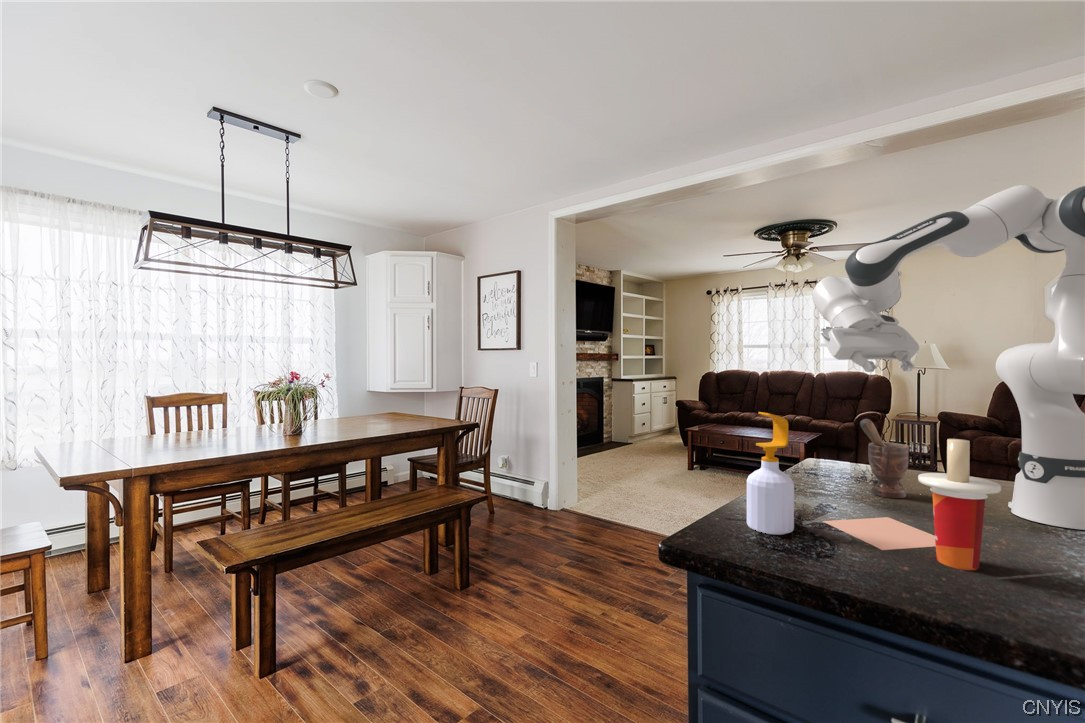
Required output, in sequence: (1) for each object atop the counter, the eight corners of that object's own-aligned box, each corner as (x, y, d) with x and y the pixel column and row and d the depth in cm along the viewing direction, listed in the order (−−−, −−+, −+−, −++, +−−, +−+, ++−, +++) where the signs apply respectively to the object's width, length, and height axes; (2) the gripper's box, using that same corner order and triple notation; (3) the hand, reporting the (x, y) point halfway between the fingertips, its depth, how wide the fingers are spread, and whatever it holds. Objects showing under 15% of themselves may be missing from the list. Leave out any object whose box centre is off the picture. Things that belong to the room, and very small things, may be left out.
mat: (887, 518, 110) (887, 517, 110) (957, 546, 94) (957, 544, 94) (822, 522, 108) (822, 521, 108) (882, 552, 92) (882, 549, 92)
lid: (953, 475, 92) (954, 434, 92) (1019, 492, 81) (1020, 445, 81) (902, 478, 90) (902, 436, 90) (962, 495, 79) (963, 447, 79)
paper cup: (958, 555, 90) (959, 479, 90) (999, 574, 82) (1000, 490, 82) (917, 556, 90) (918, 479, 89) (955, 575, 82) (955, 491, 82)
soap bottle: (737, 522, 108) (737, 410, 108) (773, 519, 110) (773, 409, 110) (766, 537, 99) (766, 415, 99) (803, 533, 102) (804, 414, 101)
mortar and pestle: (890, 503, 121) (890, 422, 121) (854, 494, 129) (854, 418, 128) (915, 496, 127) (915, 419, 126) (879, 488, 134) (879, 415, 134)
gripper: (823, 317, 114) (856, 360, 105) (902, 317, 117) (940, 359, 108) (810, 337, 119) (840, 379, 109) (886, 337, 122) (922, 378, 112)
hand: (891, 369), depth 109 cm, fingers open, 8 cm apart
